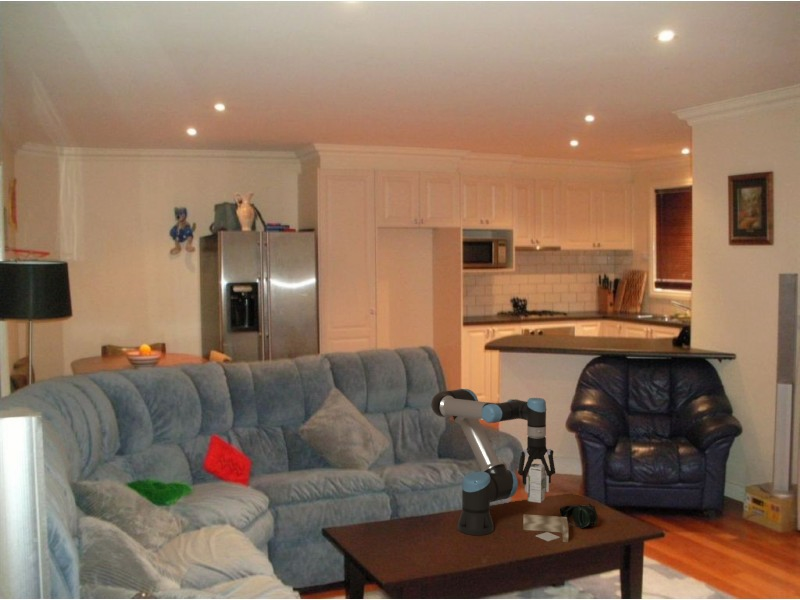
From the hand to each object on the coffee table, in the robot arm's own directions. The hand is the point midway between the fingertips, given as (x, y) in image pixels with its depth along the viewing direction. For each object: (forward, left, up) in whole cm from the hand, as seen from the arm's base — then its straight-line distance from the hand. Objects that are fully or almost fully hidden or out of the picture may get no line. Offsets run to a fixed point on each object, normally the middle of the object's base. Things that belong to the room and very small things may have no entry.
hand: (536, 491), depth 305 cm
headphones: (+19, +23, -20) cm, 36 cm away
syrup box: (0, 0, -4) cm, 4 cm away
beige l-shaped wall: (+4, +5, -20) cm, 21 cm away
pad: (+5, +3, -20) cm, 20 cm away
